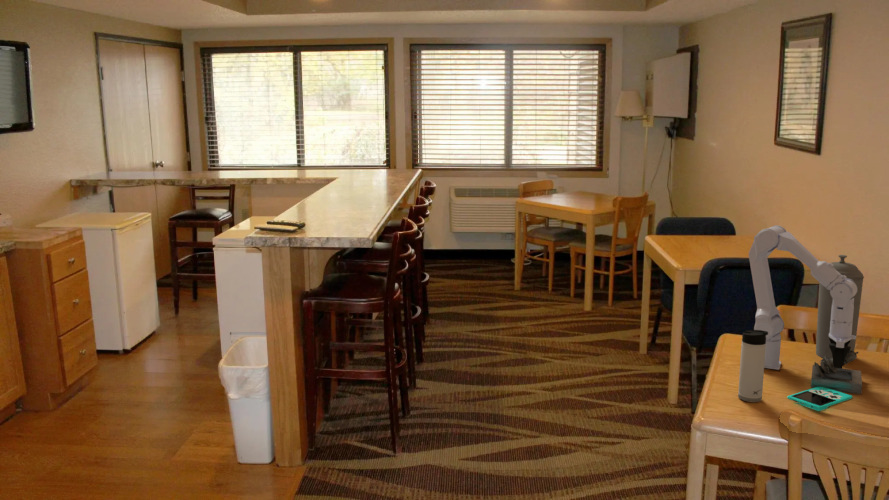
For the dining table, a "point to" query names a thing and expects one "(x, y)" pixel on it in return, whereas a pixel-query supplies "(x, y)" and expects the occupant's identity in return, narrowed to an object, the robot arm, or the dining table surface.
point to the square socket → (838, 380)
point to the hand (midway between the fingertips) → (837, 364)
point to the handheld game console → (819, 398)
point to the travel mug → (752, 365)
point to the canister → (826, 307)
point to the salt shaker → (828, 364)
